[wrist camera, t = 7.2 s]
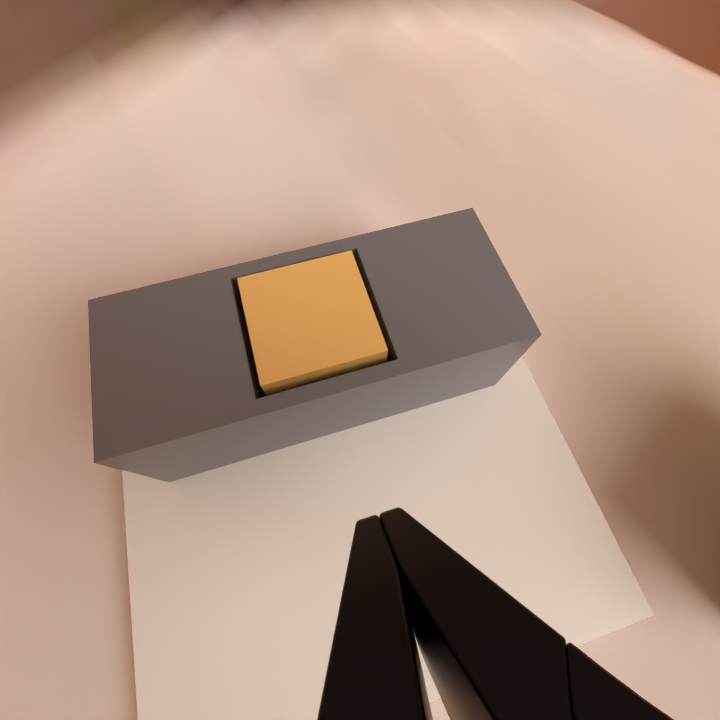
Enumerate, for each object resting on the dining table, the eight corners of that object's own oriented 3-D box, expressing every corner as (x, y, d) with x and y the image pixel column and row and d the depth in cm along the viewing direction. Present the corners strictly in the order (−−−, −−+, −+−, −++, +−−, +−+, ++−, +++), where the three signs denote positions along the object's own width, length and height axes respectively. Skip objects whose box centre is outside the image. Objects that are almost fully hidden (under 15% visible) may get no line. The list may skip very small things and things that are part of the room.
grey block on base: (631, 608, 17) (791, 653, 11) (163, 789, 15) (15, 983, 8) (464, 270, 24) (502, 176, 18) (129, 357, 22) (34, 285, 16)
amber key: (383, 380, 17) (388, 350, 14) (277, 410, 16) (260, 385, 14) (352, 291, 19) (351, 250, 16) (255, 316, 18) (236, 277, 15)
